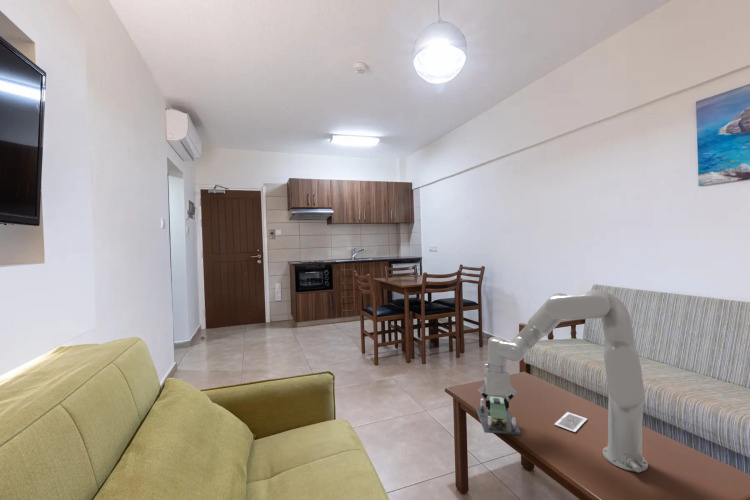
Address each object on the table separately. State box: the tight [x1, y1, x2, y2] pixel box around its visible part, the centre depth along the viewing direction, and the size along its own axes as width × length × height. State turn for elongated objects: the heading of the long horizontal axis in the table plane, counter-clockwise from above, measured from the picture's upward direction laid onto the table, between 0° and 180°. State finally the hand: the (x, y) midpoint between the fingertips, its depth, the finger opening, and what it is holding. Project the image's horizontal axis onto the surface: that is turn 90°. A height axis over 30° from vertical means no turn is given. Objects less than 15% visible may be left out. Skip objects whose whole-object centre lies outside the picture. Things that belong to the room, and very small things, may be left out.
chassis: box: [476, 397, 522, 435], centre depth 141 cm, size 18×14×6 cm
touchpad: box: [554, 411, 588, 433], centre depth 140 cm, size 8×15×2 cm, turn 131°
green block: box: [489, 396, 507, 420], centre depth 141 cm, size 12×6×4 cm, turn 165°
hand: (497, 408), depth 141 cm, fingers closed on green block, 6 cm apart
